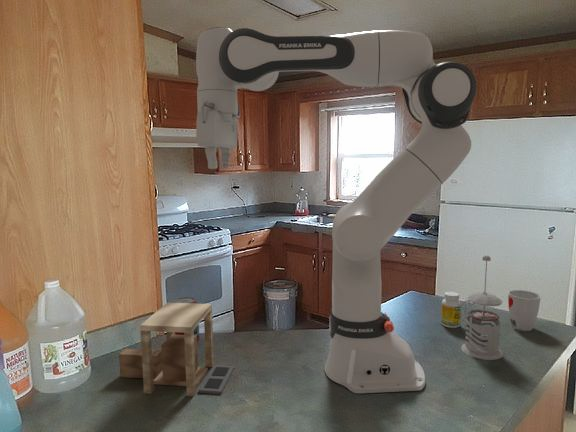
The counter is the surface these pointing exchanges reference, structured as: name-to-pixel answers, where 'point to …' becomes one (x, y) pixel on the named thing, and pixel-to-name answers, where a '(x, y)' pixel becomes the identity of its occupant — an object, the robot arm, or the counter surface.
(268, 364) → the counter surface
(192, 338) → the small wooden table
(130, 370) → the wooden step block
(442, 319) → the supplement bottle
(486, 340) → the french press
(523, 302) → the cup
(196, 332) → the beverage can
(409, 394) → the counter surface
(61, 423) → the counter surface
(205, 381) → the pit board
